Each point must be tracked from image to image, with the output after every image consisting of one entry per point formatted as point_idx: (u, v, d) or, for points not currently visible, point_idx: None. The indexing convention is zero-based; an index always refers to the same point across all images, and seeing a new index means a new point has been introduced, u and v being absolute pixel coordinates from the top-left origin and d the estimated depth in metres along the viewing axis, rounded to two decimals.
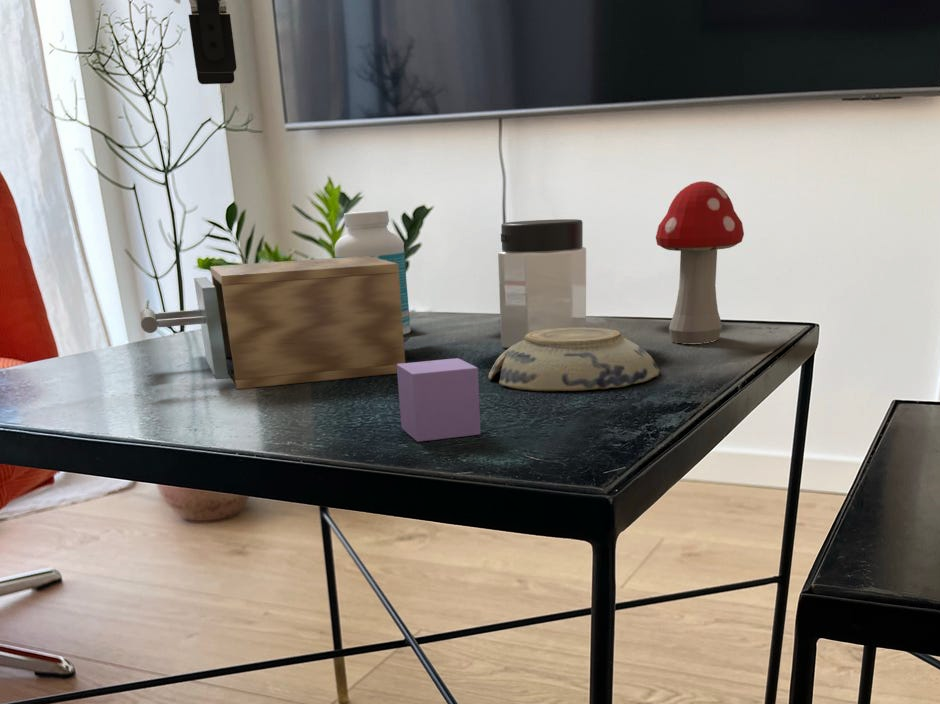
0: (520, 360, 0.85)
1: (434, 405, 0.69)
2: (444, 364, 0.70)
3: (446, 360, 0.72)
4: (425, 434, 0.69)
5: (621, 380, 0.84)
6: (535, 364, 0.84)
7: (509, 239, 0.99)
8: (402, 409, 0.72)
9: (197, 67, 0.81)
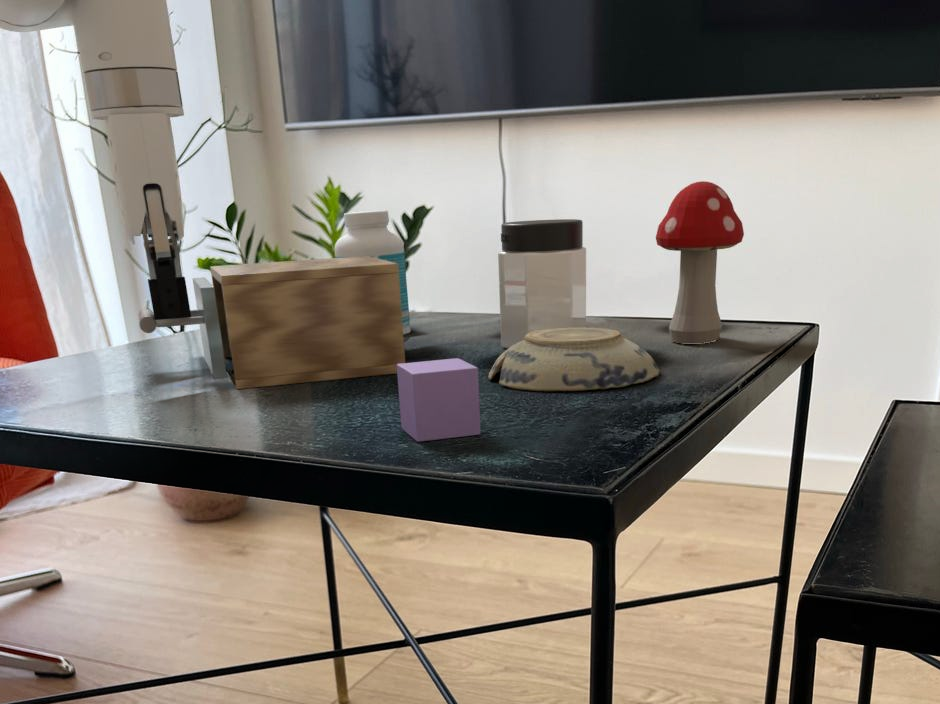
0: (520, 360, 0.85)
1: (434, 405, 0.69)
2: (444, 364, 0.70)
3: (446, 360, 0.72)
4: (425, 434, 0.69)
5: (621, 380, 0.84)
6: (535, 364, 0.84)
7: (509, 239, 0.99)
8: (402, 409, 0.72)
9: None
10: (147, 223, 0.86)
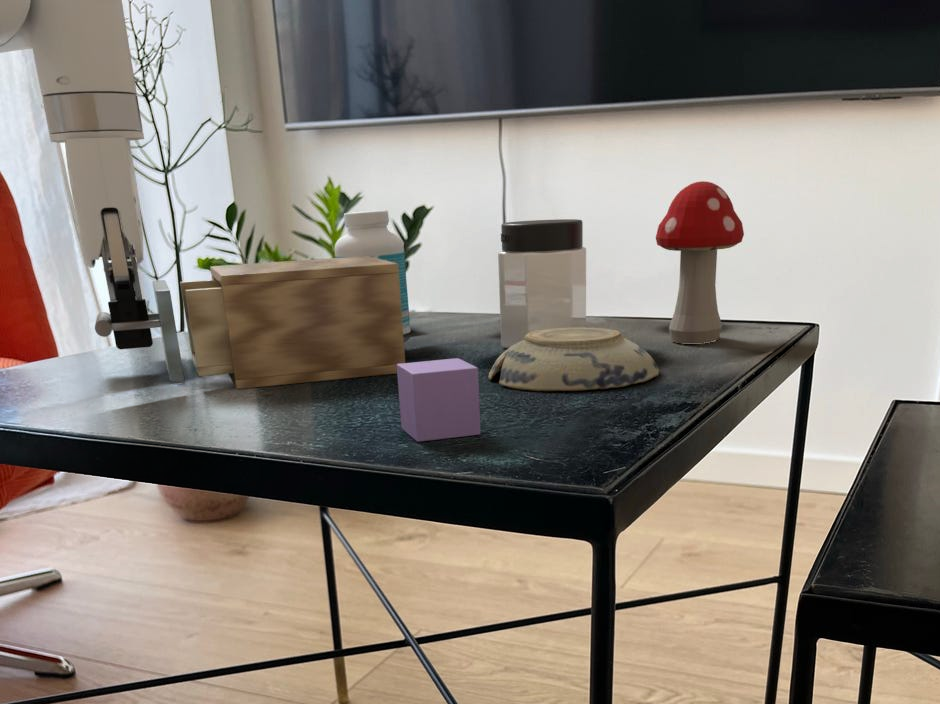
0: (520, 360, 0.85)
1: (434, 405, 0.69)
2: (444, 364, 0.70)
3: (446, 360, 0.72)
4: (425, 434, 0.69)
5: (621, 380, 0.84)
6: (535, 364, 0.84)
7: (509, 239, 0.99)
8: (402, 409, 0.72)
9: (117, 345, 0.91)
10: (106, 247, 0.86)
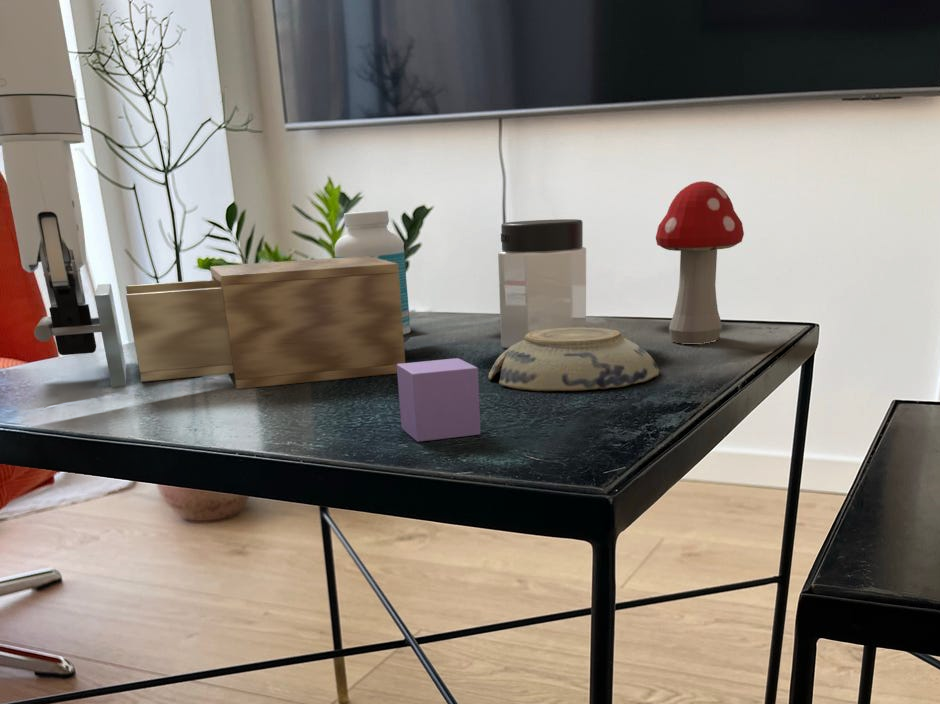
0: (520, 360, 0.85)
1: (434, 405, 0.69)
2: (444, 364, 0.70)
3: (446, 360, 0.72)
4: (425, 434, 0.69)
5: (621, 380, 0.84)
6: (535, 364, 0.84)
7: (509, 239, 0.99)
8: (402, 409, 0.72)
9: (59, 351, 0.90)
10: (44, 251, 0.84)
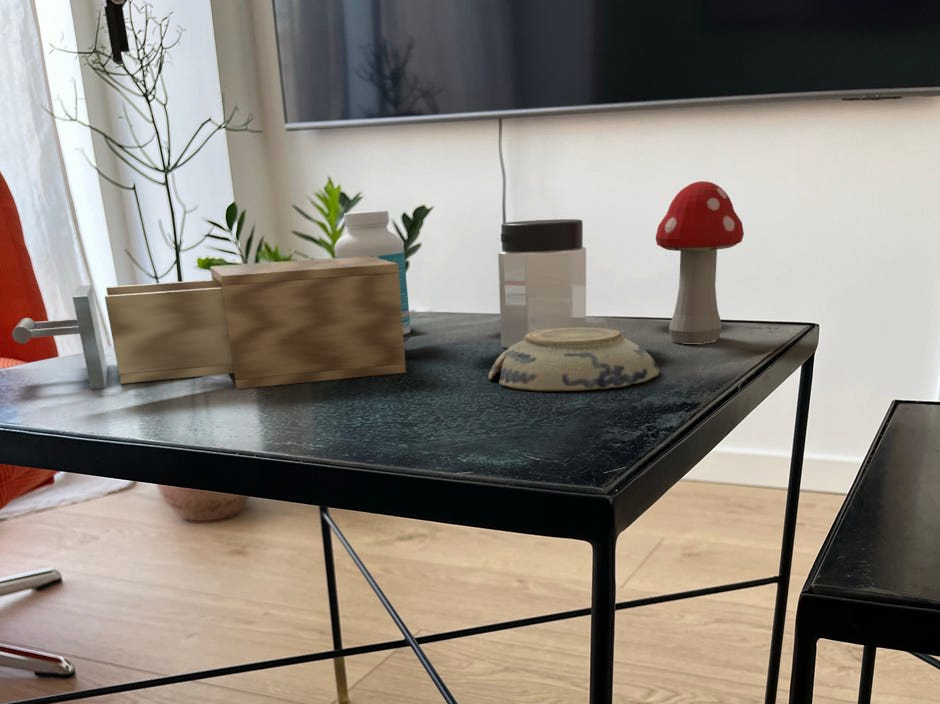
0: (520, 360, 0.85)
1: None
2: None
3: None
4: None
5: (621, 380, 0.84)
6: (535, 364, 0.84)
7: (509, 239, 0.99)
8: None
9: None
10: None
